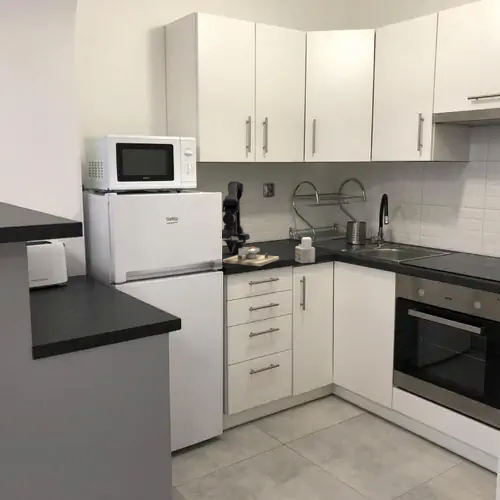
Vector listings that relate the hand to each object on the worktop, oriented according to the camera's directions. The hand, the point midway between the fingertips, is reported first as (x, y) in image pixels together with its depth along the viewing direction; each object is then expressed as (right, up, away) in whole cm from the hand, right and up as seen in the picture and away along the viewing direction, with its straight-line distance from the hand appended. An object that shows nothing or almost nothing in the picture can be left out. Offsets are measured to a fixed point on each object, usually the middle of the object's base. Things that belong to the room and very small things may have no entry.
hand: (231, 252), depth 285 cm
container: (+38, -5, +3) cm, 39 cm away
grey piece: (+9, 0, +2) cm, 9 cm away
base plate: (+10, -4, +6) cm, 13 cm away
